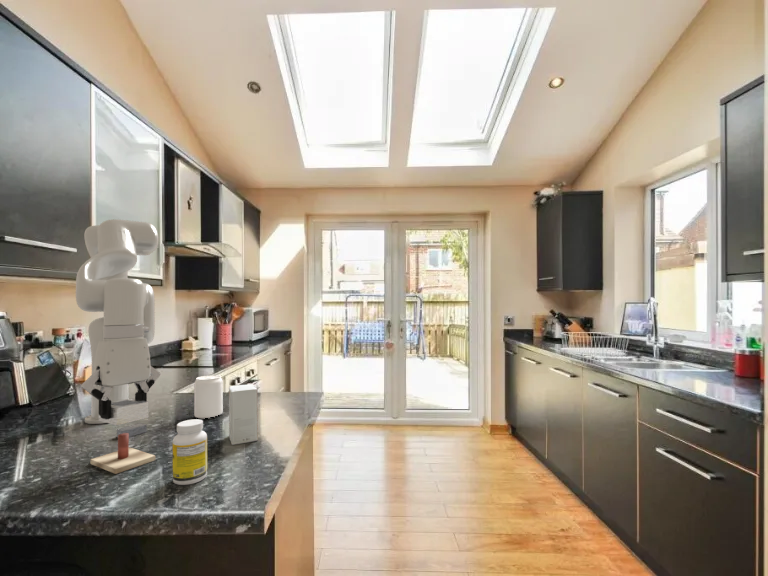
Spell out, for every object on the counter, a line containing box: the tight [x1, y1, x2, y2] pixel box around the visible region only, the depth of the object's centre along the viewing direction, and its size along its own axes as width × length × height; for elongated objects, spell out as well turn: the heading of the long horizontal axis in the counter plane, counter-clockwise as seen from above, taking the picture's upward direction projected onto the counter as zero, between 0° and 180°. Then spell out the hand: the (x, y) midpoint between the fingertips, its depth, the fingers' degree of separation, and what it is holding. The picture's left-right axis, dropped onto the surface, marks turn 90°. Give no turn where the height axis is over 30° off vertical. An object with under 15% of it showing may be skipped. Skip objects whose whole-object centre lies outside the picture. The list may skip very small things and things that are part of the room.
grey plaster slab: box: [116, 422, 148, 438], centre depth 105 cm, size 3×6×2 cm, turn 149°
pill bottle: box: [172, 418, 208, 486], centre depth 77 cm, size 6×6×11 cm
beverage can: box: [193, 374, 224, 420], centre depth 122 cm, size 8×8×12 cm
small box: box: [228, 383, 259, 446], centre depth 100 cm, size 8×6×13 cm
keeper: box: [89, 433, 156, 475], centre depth 86 cm, size 11×8×6 cm
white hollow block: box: [99, 398, 150, 426], centre depth 86 cm, size 8×6×4 cm
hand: (123, 413), depth 86 cm, fingers closed on white hollow block, 6 cm apart
